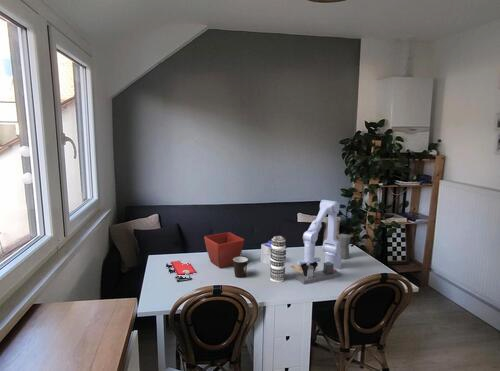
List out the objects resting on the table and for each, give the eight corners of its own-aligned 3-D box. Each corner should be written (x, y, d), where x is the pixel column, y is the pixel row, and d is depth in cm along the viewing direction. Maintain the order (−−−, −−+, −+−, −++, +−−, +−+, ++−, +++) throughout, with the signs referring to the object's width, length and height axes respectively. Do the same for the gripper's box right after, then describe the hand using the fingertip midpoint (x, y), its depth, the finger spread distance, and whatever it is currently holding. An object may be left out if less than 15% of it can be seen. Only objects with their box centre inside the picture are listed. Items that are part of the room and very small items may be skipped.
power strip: (331, 272, 207) (331, 266, 206) (340, 277, 200) (340, 271, 199) (295, 279, 195) (295, 274, 195) (303, 285, 188) (303, 279, 188)
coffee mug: (236, 279, 194) (237, 263, 192) (230, 274, 202) (230, 258, 200) (254, 276, 199) (255, 259, 198) (248, 270, 207) (248, 255, 205)
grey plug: (308, 277, 197) (309, 264, 196) (313, 279, 194) (313, 266, 192) (302, 278, 195) (303, 265, 194) (307, 281, 192) (307, 267, 191)
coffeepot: (335, 259, 227) (337, 233, 225) (331, 254, 237) (332, 229, 234) (358, 259, 229) (359, 233, 226) (353, 254, 238) (354, 229, 235)
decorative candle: (273, 274, 202) (274, 233, 198) (288, 278, 197) (289, 236, 194) (266, 280, 194) (267, 237, 191) (281, 283, 190) (282, 240, 186)
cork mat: (305, 264, 219) (305, 263, 219) (317, 271, 208) (317, 270, 208) (289, 267, 213) (289, 266, 213) (300, 274, 203) (300, 273, 203)
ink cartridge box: (277, 264, 217) (277, 242, 215) (270, 266, 214) (271, 244, 212) (266, 260, 225) (267, 239, 223) (260, 262, 221) (260, 240, 219)
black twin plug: (328, 274, 203) (329, 261, 202) (332, 277, 200) (333, 264, 198) (323, 275, 201) (323, 262, 200) (327, 278, 198) (328, 265, 197)
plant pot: (244, 264, 216) (245, 239, 214) (218, 271, 206) (218, 244, 203) (229, 255, 232) (229, 231, 229) (203, 261, 221) (203, 236, 218)
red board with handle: (173, 283, 189) (200, 279, 195) (173, 278, 189) (200, 274, 195) (164, 264, 216) (187, 261, 222) (164, 260, 216) (187, 257, 222)
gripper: (315, 248, 199) (314, 270, 201) (294, 251, 192) (293, 274, 194) (323, 252, 192) (322, 275, 194) (301, 255, 186) (300, 279, 188)
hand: (308, 275), depth 194 cm, fingers closed on grey plug, 4 cm apart
